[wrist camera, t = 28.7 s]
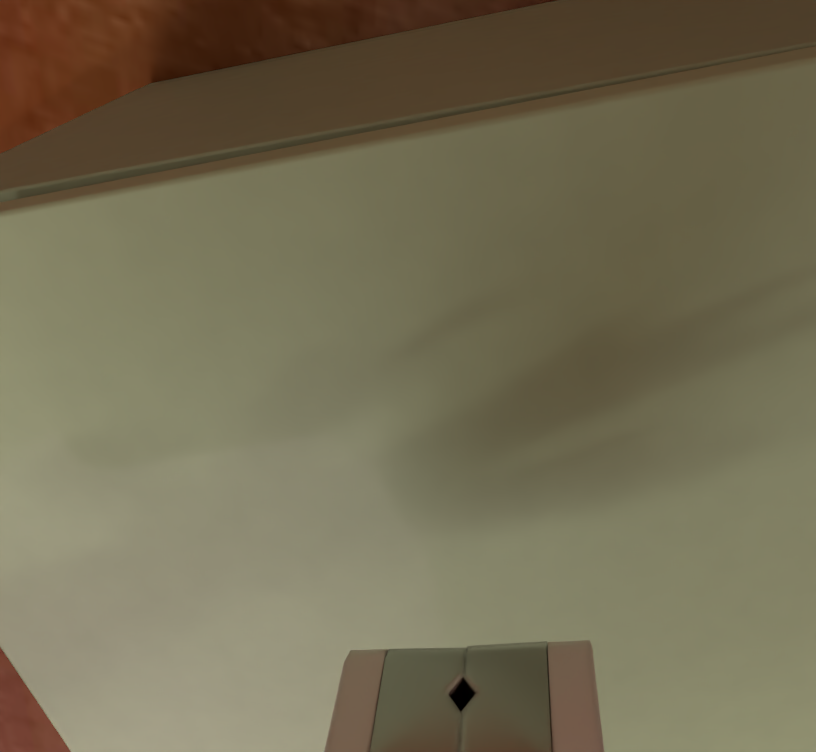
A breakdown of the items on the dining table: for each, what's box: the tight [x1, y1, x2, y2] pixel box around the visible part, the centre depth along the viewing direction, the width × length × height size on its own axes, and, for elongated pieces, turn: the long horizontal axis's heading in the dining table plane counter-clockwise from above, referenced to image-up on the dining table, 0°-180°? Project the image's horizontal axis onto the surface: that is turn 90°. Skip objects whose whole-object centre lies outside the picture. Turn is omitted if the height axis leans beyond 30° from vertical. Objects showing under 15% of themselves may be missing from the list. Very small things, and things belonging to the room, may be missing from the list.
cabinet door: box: [0, 46, 816, 752], centre depth 11 cm, size 15×12×1 cm
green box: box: [0, 0, 816, 202], centre depth 16 cm, size 14×12×10 cm
